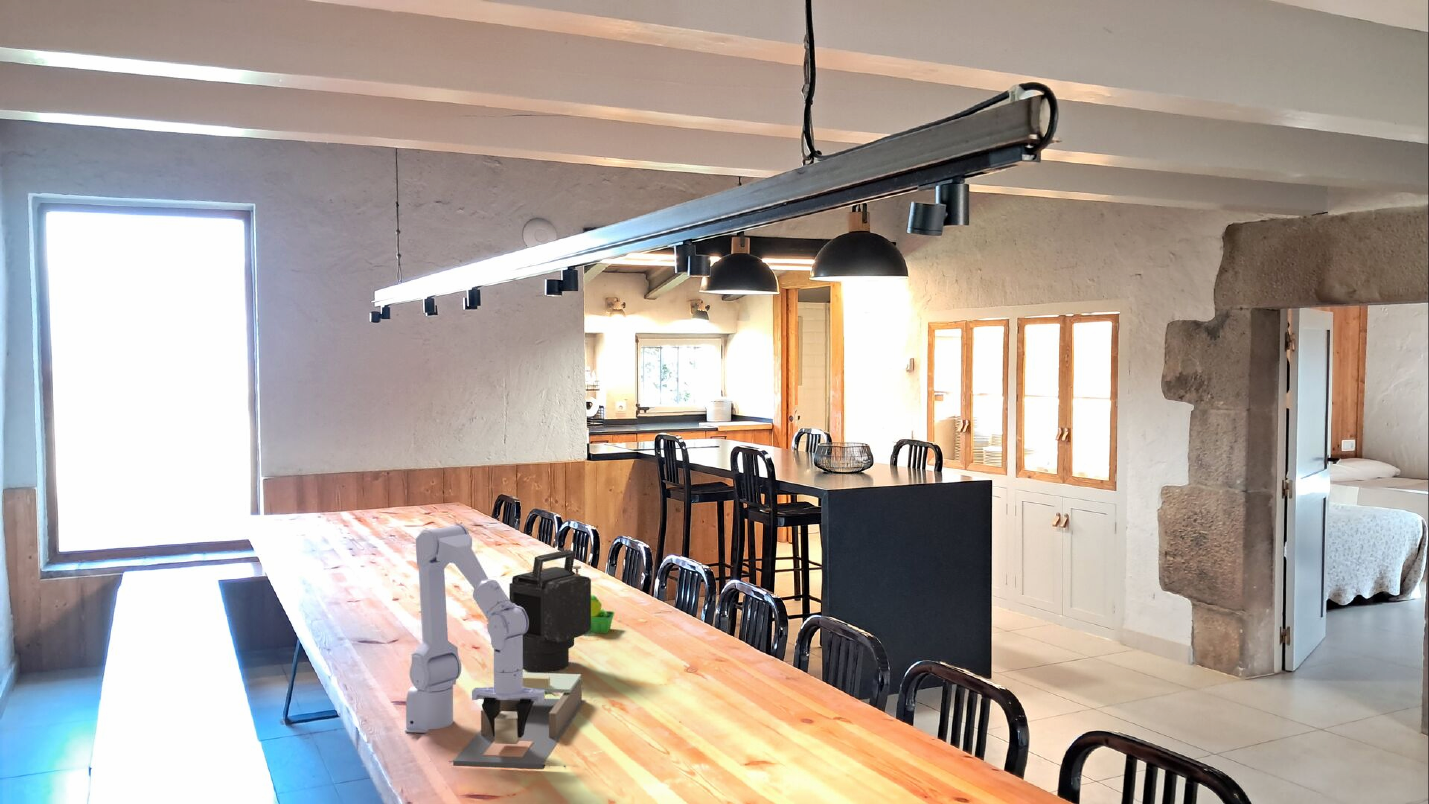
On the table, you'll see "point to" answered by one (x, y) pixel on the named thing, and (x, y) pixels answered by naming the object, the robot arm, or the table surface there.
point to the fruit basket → (599, 617)
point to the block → (506, 728)
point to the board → (538, 737)
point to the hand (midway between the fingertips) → (508, 735)
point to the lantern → (552, 611)
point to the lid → (551, 681)
